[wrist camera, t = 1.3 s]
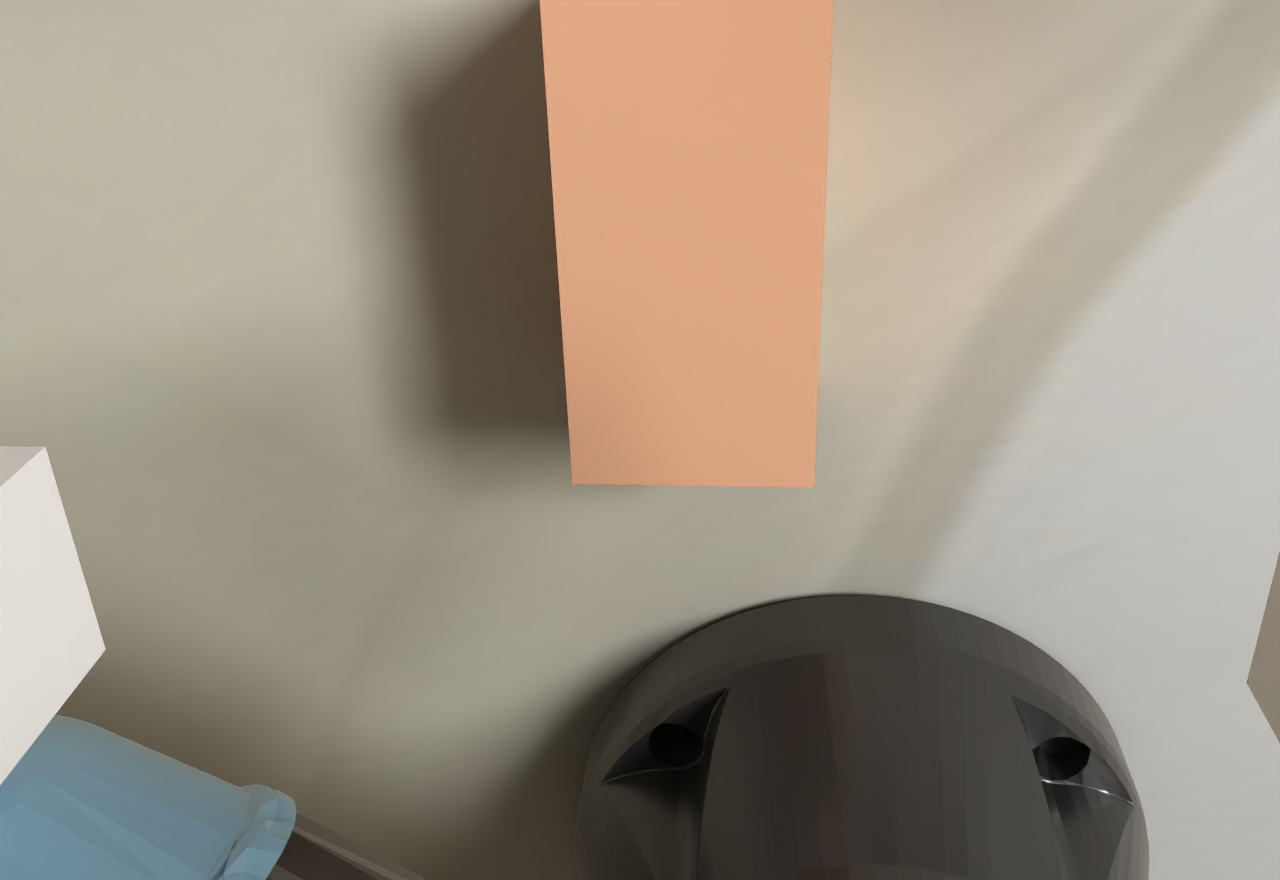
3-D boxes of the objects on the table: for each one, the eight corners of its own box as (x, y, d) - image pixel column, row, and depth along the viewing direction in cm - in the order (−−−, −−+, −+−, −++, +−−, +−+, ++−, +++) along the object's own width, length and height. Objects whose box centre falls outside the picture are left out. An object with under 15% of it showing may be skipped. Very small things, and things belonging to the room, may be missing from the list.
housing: (805, 380, 28) (814, 487, 24) (601, 379, 29) (572, 483, 24) (819, -43, 24) (833, -8, 19) (579, -36, 24) (539, -1, 20)
